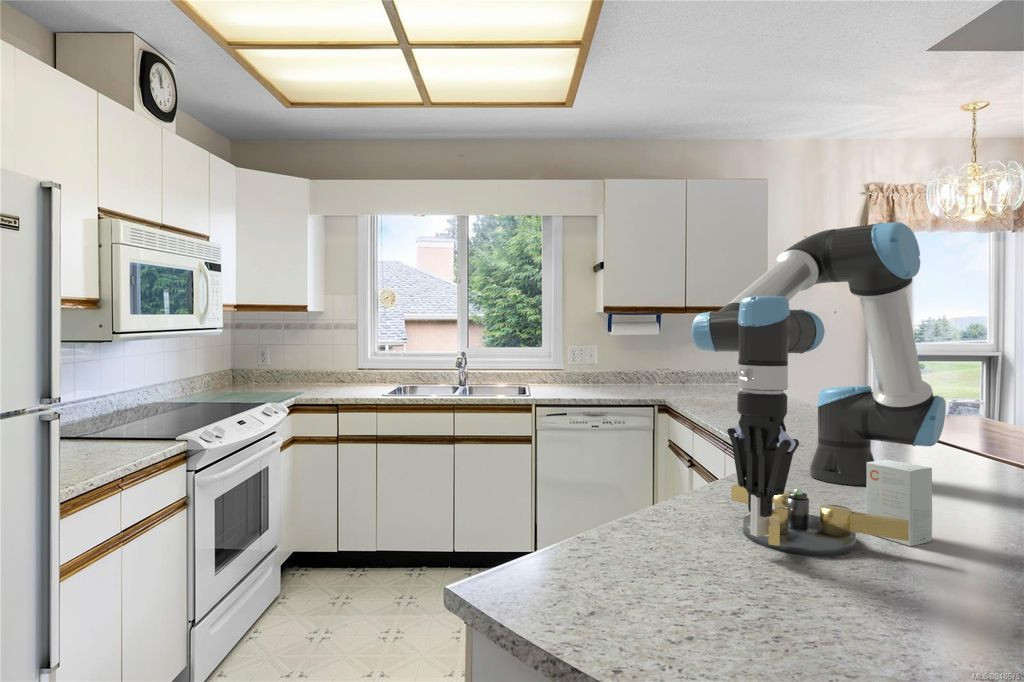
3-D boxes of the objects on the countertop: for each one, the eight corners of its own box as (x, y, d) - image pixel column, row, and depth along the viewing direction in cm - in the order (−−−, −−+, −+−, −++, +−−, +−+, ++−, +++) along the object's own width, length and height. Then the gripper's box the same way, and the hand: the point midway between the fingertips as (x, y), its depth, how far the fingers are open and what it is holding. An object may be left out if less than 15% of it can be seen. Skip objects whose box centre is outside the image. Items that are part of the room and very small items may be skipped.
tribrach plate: (731, 520, 117) (732, 475, 117) (828, 523, 115) (829, 477, 115) (760, 554, 99) (761, 501, 99) (876, 558, 98) (876, 504, 97)
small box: (932, 541, 105) (933, 467, 105) (910, 547, 103) (911, 470, 102) (886, 528, 113) (887, 458, 112) (864, 533, 110) (865, 461, 110)
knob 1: (804, 515, 113) (804, 492, 113) (792, 520, 110) (792, 497, 110) (739, 501, 123) (739, 480, 123) (727, 505, 120) (727, 483, 120)
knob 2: (757, 524, 108) (758, 500, 108) (787, 527, 106) (787, 503, 106) (757, 547, 96) (757, 520, 96) (790, 551, 94) (791, 524, 94)
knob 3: (817, 532, 103) (817, 507, 103) (822, 525, 107) (822, 501, 107) (907, 548, 96) (908, 521, 96) (909, 540, 100) (909, 514, 100)
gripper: (715, 388, 103) (713, 525, 103) (777, 396, 91) (774, 551, 92) (749, 386, 106) (746, 519, 107) (812, 394, 94) (809, 544, 95)
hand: (759, 534), depth 99 cm, fingers closed
